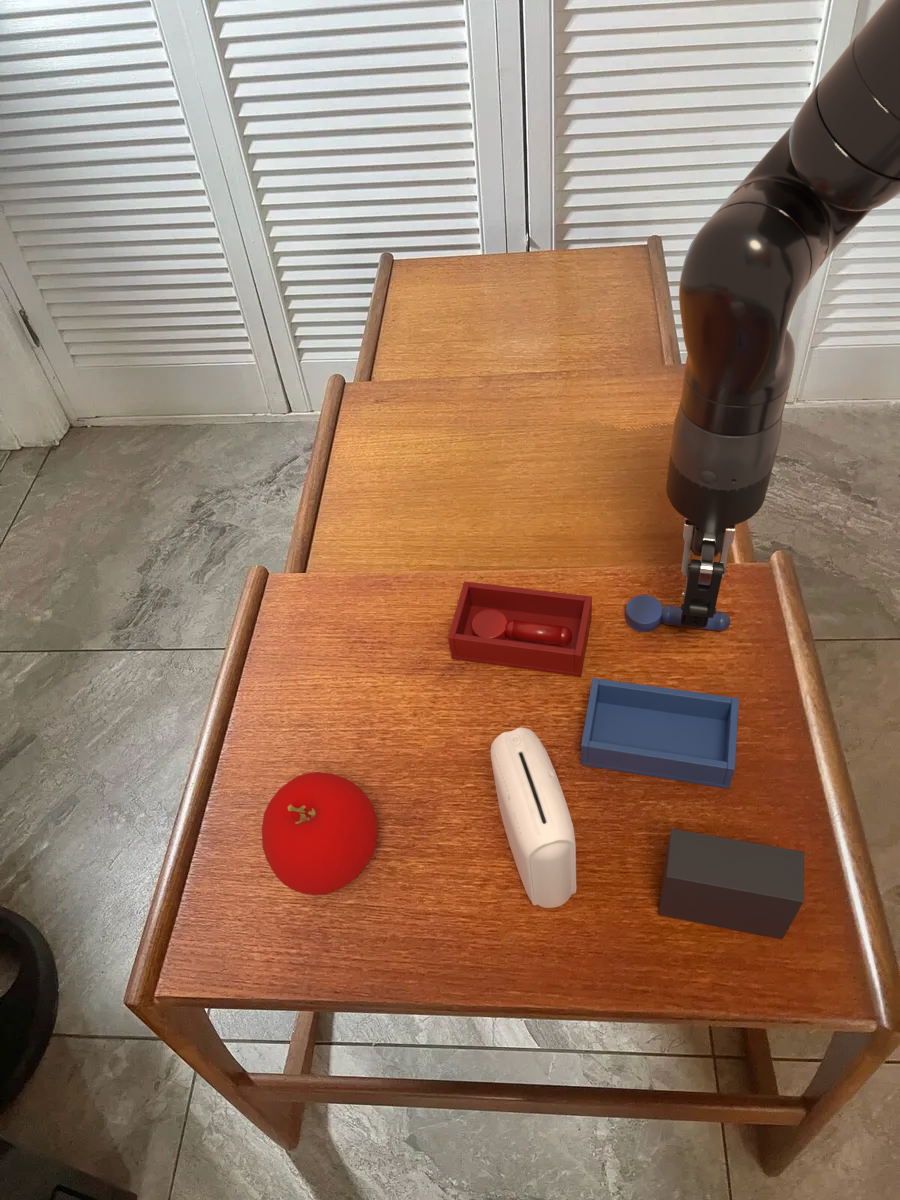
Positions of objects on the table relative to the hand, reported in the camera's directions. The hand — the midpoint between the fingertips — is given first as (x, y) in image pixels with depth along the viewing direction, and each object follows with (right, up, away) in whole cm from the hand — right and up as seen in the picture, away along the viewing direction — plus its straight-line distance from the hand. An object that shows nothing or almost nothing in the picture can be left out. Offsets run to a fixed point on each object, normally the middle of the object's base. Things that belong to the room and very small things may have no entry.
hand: (697, 584), depth 80 cm
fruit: (-32, -22, -5) cm, 39 cm away
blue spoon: (-1, -3, +5) cm, 6 cm away
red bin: (-15, -5, +6) cm, 17 cm away
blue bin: (-4, -14, -3) cm, 14 cm away
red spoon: (-15, -5, +5) cm, 17 cm away
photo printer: (-15, -21, -7) cm, 27 cm away
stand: (-1, -24, -11) cm, 27 cm away
